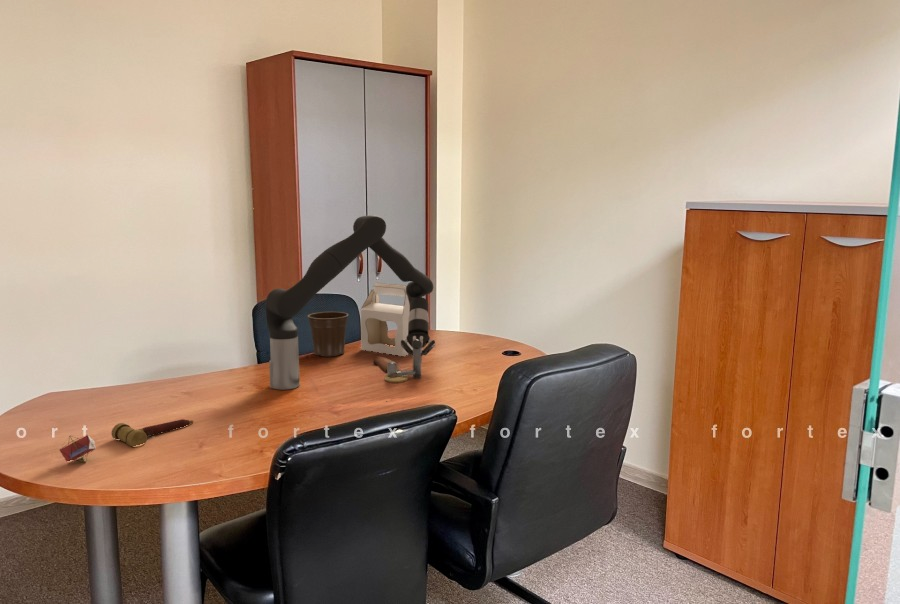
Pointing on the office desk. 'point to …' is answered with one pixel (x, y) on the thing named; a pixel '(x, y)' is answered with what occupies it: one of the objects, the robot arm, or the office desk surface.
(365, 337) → the gable box
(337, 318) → the plant pot
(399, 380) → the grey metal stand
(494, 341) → the office desk surface
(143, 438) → the gavel
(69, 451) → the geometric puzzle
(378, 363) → the sunglasses case
